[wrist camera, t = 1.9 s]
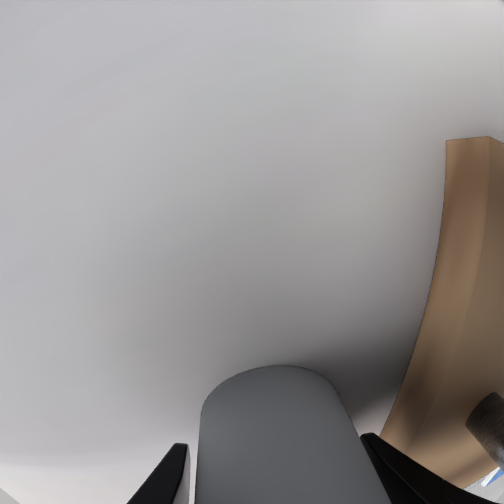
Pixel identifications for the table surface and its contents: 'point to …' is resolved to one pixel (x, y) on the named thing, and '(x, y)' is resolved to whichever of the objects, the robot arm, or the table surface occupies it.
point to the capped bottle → (281, 443)
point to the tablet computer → (492, 476)
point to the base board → (458, 322)
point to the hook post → (489, 426)
